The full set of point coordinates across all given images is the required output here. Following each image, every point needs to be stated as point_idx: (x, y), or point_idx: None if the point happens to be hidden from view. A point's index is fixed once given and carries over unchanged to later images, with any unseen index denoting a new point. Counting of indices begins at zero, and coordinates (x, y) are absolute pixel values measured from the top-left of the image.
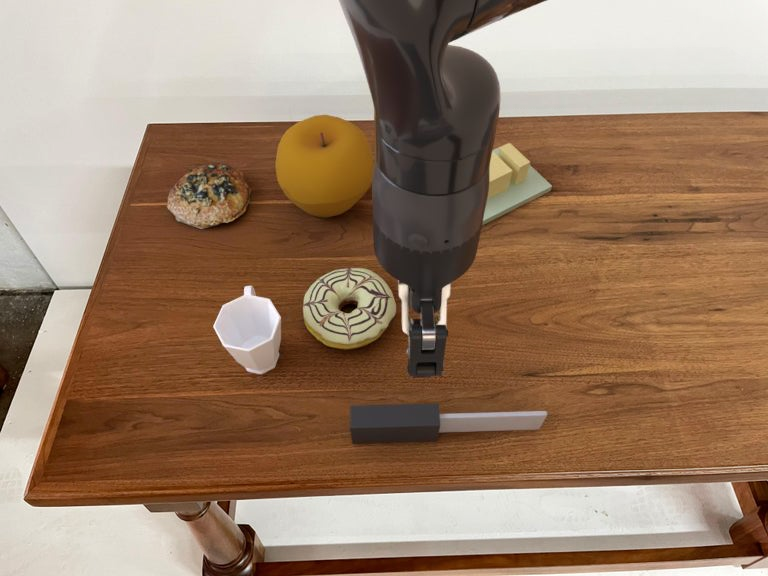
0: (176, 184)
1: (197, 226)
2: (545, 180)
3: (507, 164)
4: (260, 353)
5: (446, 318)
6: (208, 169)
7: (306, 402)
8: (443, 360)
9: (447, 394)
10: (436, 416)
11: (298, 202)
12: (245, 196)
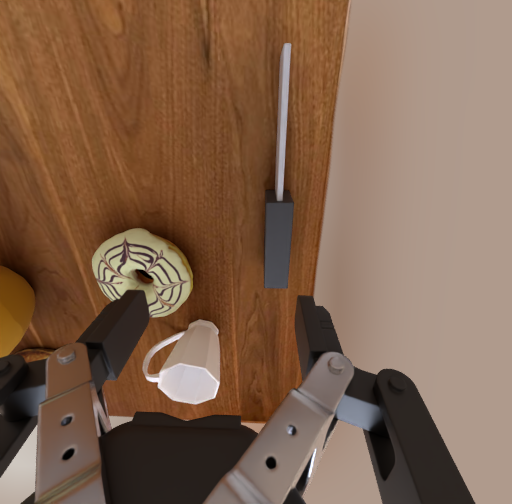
0: None
1: None
2: None
3: None
4: (214, 362)
5: (312, 445)
6: None
7: (243, 299)
8: (455, 465)
9: (236, 173)
10: (282, 206)
11: (23, 333)
12: (35, 356)
